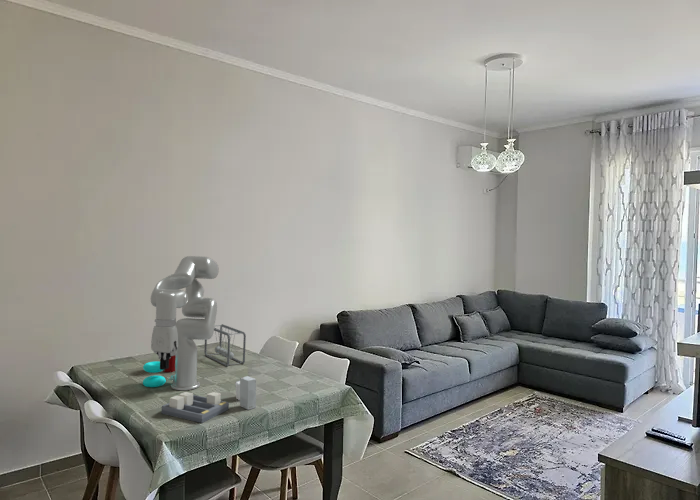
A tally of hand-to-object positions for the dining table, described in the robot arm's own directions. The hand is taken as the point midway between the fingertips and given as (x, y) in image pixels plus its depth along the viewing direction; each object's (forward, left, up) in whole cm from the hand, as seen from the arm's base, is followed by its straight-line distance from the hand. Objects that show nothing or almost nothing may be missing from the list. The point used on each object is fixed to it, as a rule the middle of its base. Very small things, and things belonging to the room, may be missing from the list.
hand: (164, 368), depth 188 cm
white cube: (+7, 0, -15) cm, 16 cm away
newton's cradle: (-28, +74, -17) cm, 81 cm away
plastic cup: (-37, +42, -17) cm, 59 cm away
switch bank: (+12, +5, -17) cm, 21 cm away
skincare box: (+27, +19, -17) cm, 37 cm away
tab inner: (+16, +11, -15) cm, 25 cm away
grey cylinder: (+19, +27, -17) cm, 37 cm away
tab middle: (+7, +5, -15) cm, 17 cm away
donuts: (-27, +22, -17) cm, 39 cm away
